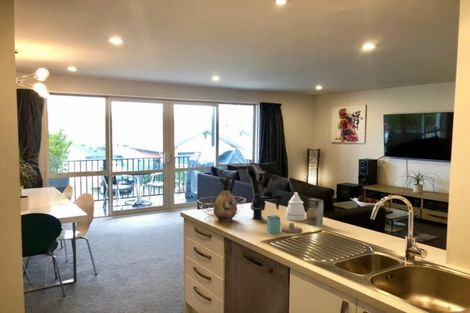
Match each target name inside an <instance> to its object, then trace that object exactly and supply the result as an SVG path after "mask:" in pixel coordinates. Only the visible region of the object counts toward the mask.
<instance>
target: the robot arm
mask: <svg viewBox="0 0 470 313" xmlns="http://www.w3.org/2000/svg"><path fill="white" fill-rule="evenodd" d="M245 175H246V176H247V178H248V179H249V180H250V183H251V191H252V194H253V196H252V199H251V200H252V201H251V204H250V210H252V212H253V214H252V215H253V217H251V219H252V220H263V218H264V217H263V216H262V215H263V214H262V212H264V211H265V208H266V201H273V200H274V203H275V207H276V209H277V211H278V210H280V208H279V207H280V204H281V203H282V202H283V199H284V194H283V193H276V194H275V196H273V195H274V192H277V186H276V185H272V186H270V185H271V183H272V181H273V180H272V179H273V174H272V173H271V172H269V171H268V170H265V171H263V169H262V168H261V167H260V165H259V163H253V164H251V165H249V166H247V168H246V170H245ZM260 191H261V192H260Z"/></svg>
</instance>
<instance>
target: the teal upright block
mask: <svg viewBox="0 0 470 313" xmlns="http://www.w3.org/2000/svg"><path fill="white" fill-rule="evenodd" d="M266 231H267V232H268V233H269V234H280V233H281V217H280V216H278V215H267V216H266Z"/></svg>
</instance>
